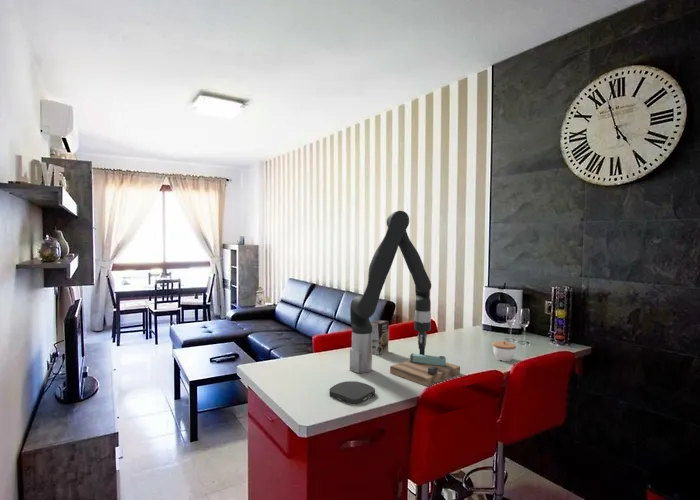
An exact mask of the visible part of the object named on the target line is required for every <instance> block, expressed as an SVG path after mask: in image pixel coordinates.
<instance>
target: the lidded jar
mask: <svg viewBox="0 0 700 500" xmlns="http://www.w3.org/2000/svg"><path fill="white" fill-rule="evenodd" d="M516 349H517V345H516V344H515V343H512V342H508V341H505V340H503V341H493V342H492V351H493V354H494V356H495V357H496V358H497V360H498V361H500V360H502V361H501V362H506V361H507V362H511V361H512V360H513V358H514V357H515V355H516V353H517V352H516ZM510 360H511V361H510Z"/></svg>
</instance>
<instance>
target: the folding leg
mask: <svg viewBox="0 0 700 500" xmlns="http://www.w3.org/2000/svg"><path fill="white" fill-rule="evenodd" d="M409 357H410V358H409V359H410V362H417V363H425V364H432V365H440V366H445V365H446V363H447V357H446V356H445V355H439V356H437V355H428V354H425V355H421V354H420V353H410V355H409Z"/></svg>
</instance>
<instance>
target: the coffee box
mask: <svg viewBox="0 0 700 500" xmlns="http://www.w3.org/2000/svg"><path fill="white" fill-rule="evenodd" d="M370 323H371V325H372V328H373V330H372V355H377V356H380V355H383V354H384V353H387V351H388V352H389V338H390V337H389V334H390V333H389V332H390V331H389V330H390V321H388V320H381V319H377V320H374V321H370Z"/></svg>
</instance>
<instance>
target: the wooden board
mask: <svg viewBox="0 0 700 500" xmlns="http://www.w3.org/2000/svg"><path fill="white" fill-rule="evenodd" d="M389 369H390V371H389V374H392V375H395V376H397V375H398V377H401V378H403V379H406V380H408V379H409V380H408V381H411V382H414V383H417V384H419V383H420V385H423V386H425V387H428V386H431V385H434V384H437V383H438V382H442V381H444V380H446V379H449V378H451V377H455V376H457V375H459V374H460V373H461V366H459V365H456V364H452V363H449V362H446V365H445V366H440V365H432V364H425V363H417V362H410V360H409V359H408V360H407V361H402V362H400V363H397V364H392V365H390V366H389ZM436 382H437V383H436ZM433 383H434V384H433Z"/></svg>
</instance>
